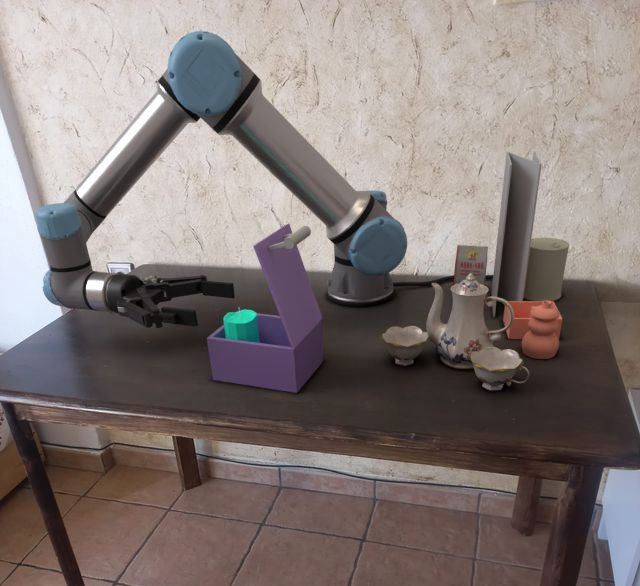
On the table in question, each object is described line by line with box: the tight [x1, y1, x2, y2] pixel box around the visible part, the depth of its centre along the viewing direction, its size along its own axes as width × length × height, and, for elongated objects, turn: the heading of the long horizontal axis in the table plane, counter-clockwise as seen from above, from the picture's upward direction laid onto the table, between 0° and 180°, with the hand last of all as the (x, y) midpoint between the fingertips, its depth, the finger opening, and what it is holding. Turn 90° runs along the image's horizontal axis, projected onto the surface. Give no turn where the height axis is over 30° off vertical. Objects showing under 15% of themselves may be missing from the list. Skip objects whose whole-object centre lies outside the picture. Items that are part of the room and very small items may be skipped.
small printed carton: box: [452, 244, 489, 286], centre depth 142 cm, size 4×7×10 cm, turn 71°
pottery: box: [502, 300, 563, 360], centre depth 117 cm, size 18×10×10 cm, turn 173°
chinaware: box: [379, 273, 530, 391], centre depth 108 cm, size 28×17×17 cm, turn 58°
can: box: [523, 237, 570, 302], centre depth 136 cm, size 9×9×12 cm
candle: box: [222, 307, 260, 343], centre depth 110 cm, size 6×6×12 cm
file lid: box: [253, 223, 323, 348], centre depth 102 cm, size 17×13×5 cm
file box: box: [206, 312, 324, 394], centre depth 112 cm, size 17×13×8 cm
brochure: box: [490, 150, 543, 318], centre depth 127 cm, size 14×6×30 cm, turn 168°
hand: (215, 304), depth 110 cm, fingers open, 13 cm apart
